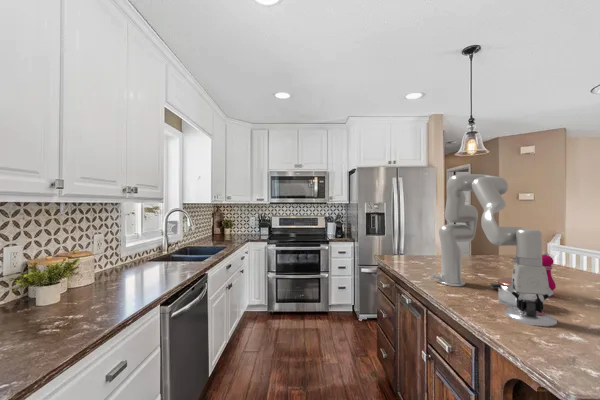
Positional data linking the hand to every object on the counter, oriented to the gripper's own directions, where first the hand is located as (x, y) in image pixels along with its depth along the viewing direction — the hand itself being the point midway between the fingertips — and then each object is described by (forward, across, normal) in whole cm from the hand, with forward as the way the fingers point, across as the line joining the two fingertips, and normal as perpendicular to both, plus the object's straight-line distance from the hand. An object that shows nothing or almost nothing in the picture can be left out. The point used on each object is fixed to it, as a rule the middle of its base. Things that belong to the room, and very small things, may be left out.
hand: (529, 310), depth 105 cm
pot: (+3, +2, +16) cm, 16 cm away
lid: (+3, 0, 0) cm, 3 cm away
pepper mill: (+3, +20, +34) cm, 40 cm away
